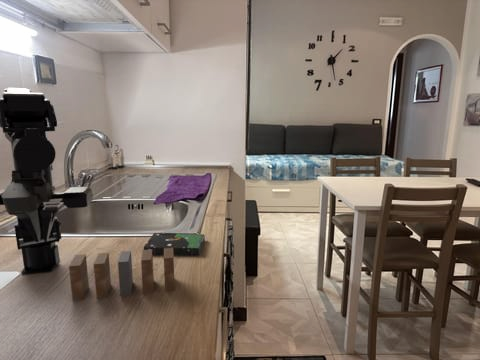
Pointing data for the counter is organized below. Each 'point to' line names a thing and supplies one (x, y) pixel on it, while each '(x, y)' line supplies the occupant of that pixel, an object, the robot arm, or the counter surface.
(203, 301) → the counter surface
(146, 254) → the domino
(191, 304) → the counter surface
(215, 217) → the counter surface
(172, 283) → the domino
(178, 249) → the disk drive
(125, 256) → the domino
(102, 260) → the domino
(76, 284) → the domino
